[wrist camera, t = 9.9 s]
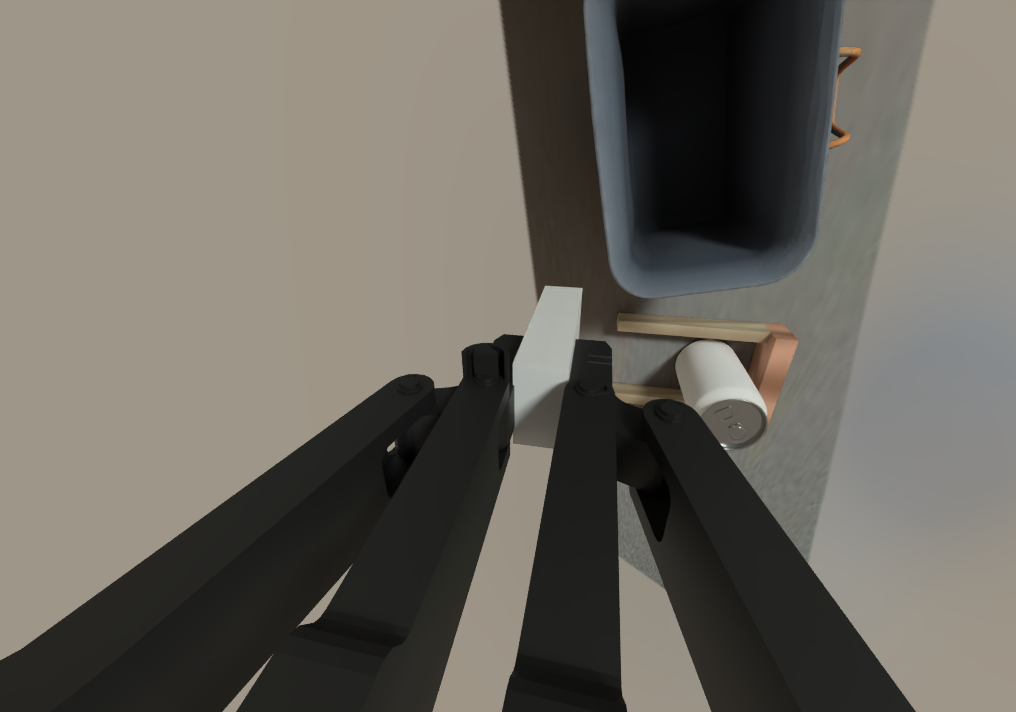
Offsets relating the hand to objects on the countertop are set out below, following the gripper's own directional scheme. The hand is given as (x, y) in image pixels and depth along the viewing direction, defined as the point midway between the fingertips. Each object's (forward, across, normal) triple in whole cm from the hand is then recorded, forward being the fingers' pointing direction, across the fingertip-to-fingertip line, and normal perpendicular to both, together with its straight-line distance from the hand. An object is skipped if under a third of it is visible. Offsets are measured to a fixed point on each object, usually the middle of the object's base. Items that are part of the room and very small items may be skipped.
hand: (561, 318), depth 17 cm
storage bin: (+29, +8, +7) cm, 31 cm away
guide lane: (+29, +12, -16) cm, 35 cm away
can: (+29, +14, -16) cm, 36 cm away
